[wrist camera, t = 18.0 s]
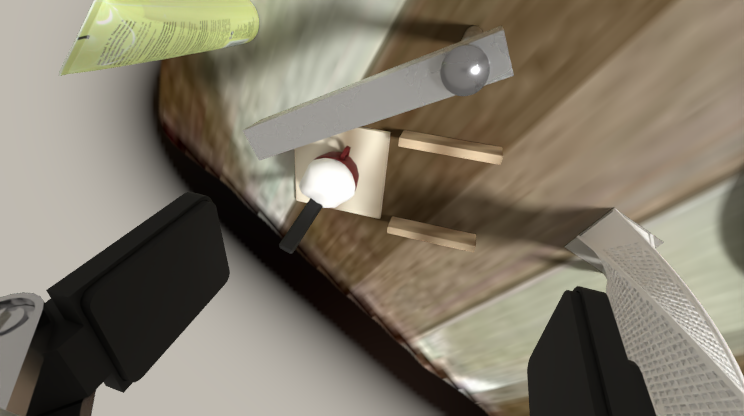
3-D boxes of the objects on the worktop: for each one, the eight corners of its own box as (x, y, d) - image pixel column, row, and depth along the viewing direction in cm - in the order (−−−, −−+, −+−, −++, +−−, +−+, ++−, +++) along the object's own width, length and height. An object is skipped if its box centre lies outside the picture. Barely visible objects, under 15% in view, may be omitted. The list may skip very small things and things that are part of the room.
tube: (216, -18, 39) (26, -18, 23) (260, -11, 38) (94, -4, 22) (222, 39, 42) (57, 75, 26) (262, 47, 41) (118, 90, 25)
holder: (502, 147, 40) (503, 156, 38) (474, 240, 47) (473, 252, 45) (403, 129, 42) (399, 137, 40) (391, 222, 49) (387, 232, 47)
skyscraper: (554, 238, 44) (626, 516, 21) (611, 192, 40) (782, 483, 17) (609, 275, 45) (737, 584, 22) (671, 234, 40) (917, 570, 17)
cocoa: (348, 130, 43) (308, 167, 33) (381, 171, 45) (352, 218, 35) (297, 171, 48) (248, 215, 38) (328, 207, 49) (289, 259, 39)
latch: (496, 9, 34) (503, 29, 20) (503, 40, 35) (514, 80, 21) (320, 82, 41) (236, 132, 28) (330, 105, 43) (254, 165, 29)
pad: (390, 131, 42) (389, 133, 42) (380, 216, 49) (379, 218, 48) (294, 115, 44) (293, 116, 44) (297, 198, 51) (296, 200, 51)
